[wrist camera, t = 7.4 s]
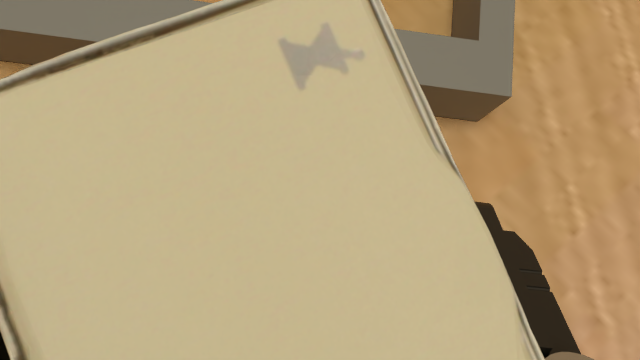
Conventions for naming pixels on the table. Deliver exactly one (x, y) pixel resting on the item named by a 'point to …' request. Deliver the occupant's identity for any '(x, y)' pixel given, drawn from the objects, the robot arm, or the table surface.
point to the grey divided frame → (162, 3)
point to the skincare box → (243, 199)
